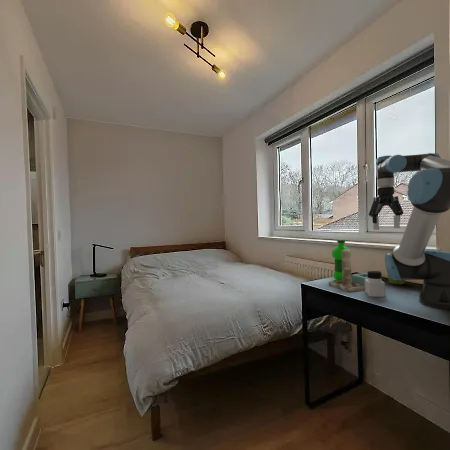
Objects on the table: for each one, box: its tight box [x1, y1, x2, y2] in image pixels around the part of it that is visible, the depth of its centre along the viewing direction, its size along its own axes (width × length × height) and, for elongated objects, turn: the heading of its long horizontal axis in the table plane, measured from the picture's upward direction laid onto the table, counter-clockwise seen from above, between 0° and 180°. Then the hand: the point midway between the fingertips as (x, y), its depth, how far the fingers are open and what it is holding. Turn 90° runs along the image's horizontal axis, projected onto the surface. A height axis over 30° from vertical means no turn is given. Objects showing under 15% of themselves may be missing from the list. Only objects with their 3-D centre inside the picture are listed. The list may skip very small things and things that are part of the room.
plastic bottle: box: [331, 238, 352, 281], centre depth 161 cm, size 10×10×25 cm
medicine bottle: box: [364, 269, 386, 298], centre depth 134 cm, size 7×7×12 cm
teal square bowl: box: [351, 272, 368, 285], centre depth 150 cm, size 10×10×6 cm
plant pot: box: [383, 262, 406, 285], centre depth 152 cm, size 12×12×11 cm
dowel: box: [342, 249, 352, 288], centre depth 148 cm, size 4×4×20 cm
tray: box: [328, 280, 365, 293], centre depth 148 cm, size 16×11×2 cm
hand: (386, 229), depth 139 cm, fingers open, 13 cm apart
